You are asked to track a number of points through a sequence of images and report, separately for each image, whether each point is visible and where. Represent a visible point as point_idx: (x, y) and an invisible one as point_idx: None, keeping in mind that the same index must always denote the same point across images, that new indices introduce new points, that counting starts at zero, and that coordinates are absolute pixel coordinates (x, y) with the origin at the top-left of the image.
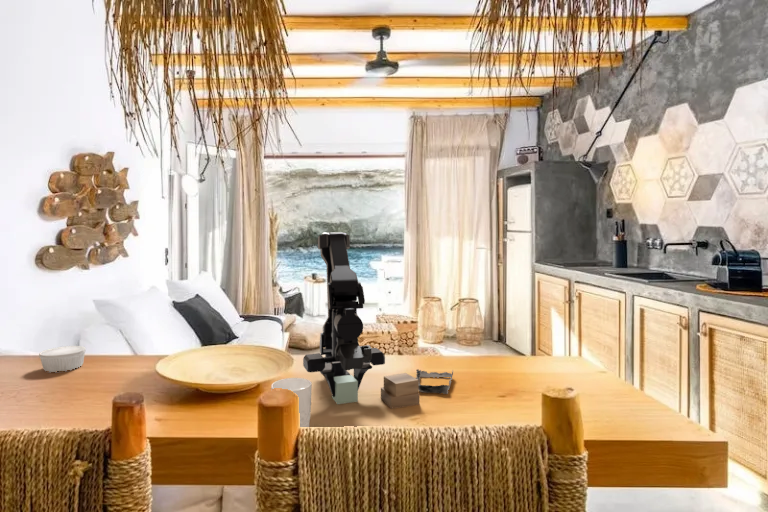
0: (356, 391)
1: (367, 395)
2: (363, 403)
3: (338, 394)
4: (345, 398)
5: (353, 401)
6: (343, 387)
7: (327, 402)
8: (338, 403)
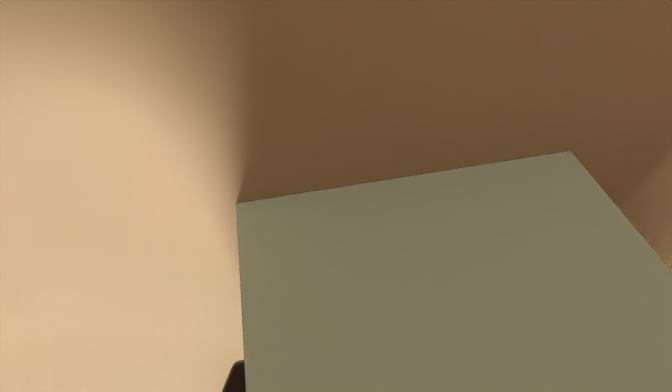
0: (271, 329)
1: (63, 373)
2: (146, 111)
3: (631, 258)
4: (464, 220)
5: (311, 197)
6: (597, 379)
7: (657, 229)
8: (557, 158)
